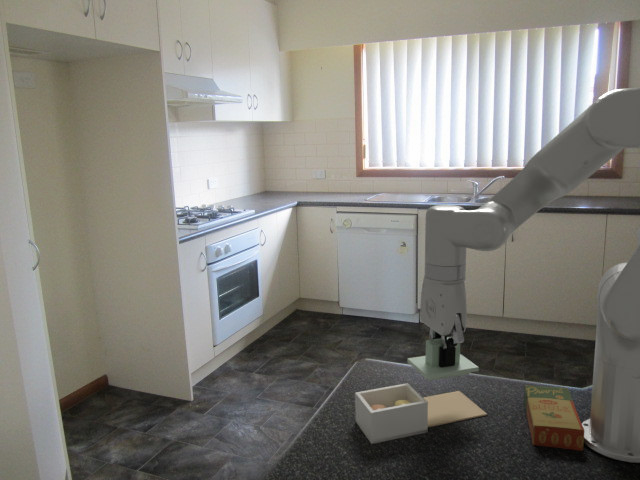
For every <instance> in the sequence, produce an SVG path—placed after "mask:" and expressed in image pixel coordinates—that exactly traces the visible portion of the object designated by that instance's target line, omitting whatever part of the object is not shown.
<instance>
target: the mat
mask: <svg viewBox="0 0 640 480" xmlns="http://www.w3.org/2000/svg"><path fill="white" fill-rule="evenodd" d="M422 397H423V396H422ZM423 398H424V399H425V400H426V401H427V402H428V428H432V427H436V426H440V425H446V424H451V423H456V422H460V421H465V420H470V419H474V418H479V417H484V416H487V415H488V414H487V412H485V410H483V409H482V408H480V406H478V405H477V404H476V403H474V401H472V400H471V399H470V398H468V397H467V396H466V395H465V394H464V393H463V392H461V391H460V390H456V391H452V392H451V391H450V392H446V393H440V394H435V395H429V396H425V397H423Z"/></svg>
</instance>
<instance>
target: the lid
mask: <svg viewBox="0 0 640 480" xmlns="http://www.w3.org/2000/svg"><path fill="white" fill-rule="evenodd" d="M451 337H452V336H447V339H448V338H451ZM439 347H442V345H441V338H440V339H432V340H431V339H427V340H425V355H422V356H416V357H415V356H414V357H407V363H408V364H409V365H410V366H411V367H412V368H414V369H415V371H417V373H419V374H420V375H421V376H422V377H423V378H424V379H425V380H428V381H430V382H431V381H435V380H437V381H438V380H442V379H447V378H448V379H449V378H453V377H454V378H455V377H460V376H466V375H470V373H475V372H479V371H480V367H479V366H478V365H476V364H475V363H473V362H472V361H471V360H470V359H468V357H465V356H464V355H463V354H461V343H458V344H457V347H456V354H455V365H454V366H449V367H443V368H441V367H440V366H439Z"/></svg>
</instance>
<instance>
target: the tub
mask: <svg viewBox="0 0 640 480" xmlns="http://www.w3.org/2000/svg"><path fill="white" fill-rule="evenodd" d="M354 400H355V401H354V402H355V403H354V404H355V405H354V406H355V422H356V424H357V426H358V427H359V429H360V430H361V431H362V432H363V434H364V435H365V437H366V438H367V439H368V441H369V443H370V444H371V445H373V444H379V443H383V442H388V441H393V440H397V439H403V438H407V437H412V436H417V435H421V434H427V433H428V430H429V429H428V428H429V427H428V402H427V401H426V400H425V399H424V398H423V396H422V395H421V394H420V393H419V391H416V389H415V388H414V387H412V385H410V383H408V382H406V383H402V384H401V383H400V384H396V385H389V386H385V387H379V388H373V389H368V390H367V389H366V390H362V391H357V392H355V393H354Z"/></svg>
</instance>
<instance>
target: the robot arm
mask: <svg viewBox="0 0 640 480" xmlns="http://www.w3.org/2000/svg"><path fill="white" fill-rule="evenodd" d="M624 149H640V87H629V88H628V87H626V88H617V89H612V90H610V91H606V92H605V93H603V94H601V96H599V97H598V98H596V99H595V101H594V102H593V103H592V104H590V106H588V107H587V108H586V109H585V110H583V111H582V113H580V115H578V116H577V117H576V118H575V119H573V120H572V121H571V122H570V123H569V124H568V125H567V126H566V127H564V129H562V130H561V131H560V132H559V133H558V134H557V135H556V136H554V137H553V138H552V139H551V140H550V141H549V142H548V143H546V144H545V145H544V146H543V147H542V148H540V149H539V150H538V151H537V152H536V153H535V154H534V155H533V156H532V157H531V158H530V159H529V160H527V161H528V162H527V163H526V164H525V166H524V167H523V168H522V169H521V170H520V171H519V172H518V174H516V175H515V176H514V177H513V178H512V179H511V180H510V181H509V182H508V183H506V184H505V185H504V186H503V187H502V188H501V189H499V191H498V192H496V193H495V194H494V195H493V196H492V197H491V198H489V199H488V200H487V201H486V202H485V203H484V204H482V205H480V207H478V208H476V209H469V210H466V209H465V208H464V207H463V206H460V205H456V204H455V205H454V204H453V205H452V204H438V205H436V204H435V205H433V206H429V208H428V209H427V210H426V212H425V223H424V225H425V230H424V233H425V234H424V243H425V244H424V274H423V279H422V286H421V294H420V305H419V307H420V308H419V318H420V321H421V322H422V323H423V324H424V325H425V326H427V327H428V330H429V340H432V339H440V338H441V345H442V347H439V366H440V367H441V368H443V367H449V366H454V365H455V354H456V347H457V344H458V343H460V344H461V343H464V342H465V338H464V336H465V335H464V333H465V331H466V328H467V318H468V317H467V291H466V283H465V281H466V273H467V272H466V271H467V270H466V269H467V268H466V267H467V249H471V250H476V251H480V252H492V251H496V250H498V249H500V248H501V247H503V245H505V244H506V242H507V241H508V239H509V237H510V235H512V234H513V232H515V231H516V230H517V229H518V228H520V227H521V226H522V225H523V224H524V223H525V222H527V221H528V220H529V219H530V218H531V217H533V216H534V215H535V214H537V213H538V212H539V211H540V210H541V209H543V208H545V207H546V206H547V205H549V204H550V203H552V202H554V201H556V200H559V199H561V198H562V197H565V196H566V195H568V194H570V193H571V192H572V191H574V190H575V189H577V188H578V187H579V186H580V185H582V183H584V182H585V181H586V180H587V179H588V178H590V177H591V176H592V175H594V174H595V173H596V172H597V171H598V170H600V169H601V168H602V167H603V166H605V165H606V164H607V163H608V162H610V161H611V160H612V159H613V158H614V157H616V156H617V155H618V154H620V153H621V152H622V151H623V150H624ZM636 241H637V247H636V249H635V250H634V252H633V253H632V255H631V257H630V258H629V259H628V261H627V262H626V261H625V262H620V263H617V264H616V265H613V266H612V267H610V268H609V269H608V270H607V271H605V273H604V274H603V275H602V277H601V279H600V281H599V284H598V288H597V296H596V297H597V298H596V299H597V303H596V305H597V309H596V331H595V332H596V333H595V346H594V347H595V348H594V357H593V358H594V361H593V370H592V372H593V375H592V386H591V387H592V388H591V399H590V400H591V401H590V402H591V404H590V413H589V414H590V415H589V416H590V417H589V418H588V419H586V420H583V422H581V423H582V426H583V428H584V431H585V432H584V443H583V444H585V445H586V446H587V447H589V448H590V449H591V450H593V451H594V452H596V453H598V454H600V455H602V456H604V457H607V458H610V459H613V460H617V461H621V462H628V463H637V464H640V225H639V227H638V229H637V232H636ZM447 337H451V338H448V339H447Z"/></svg>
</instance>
